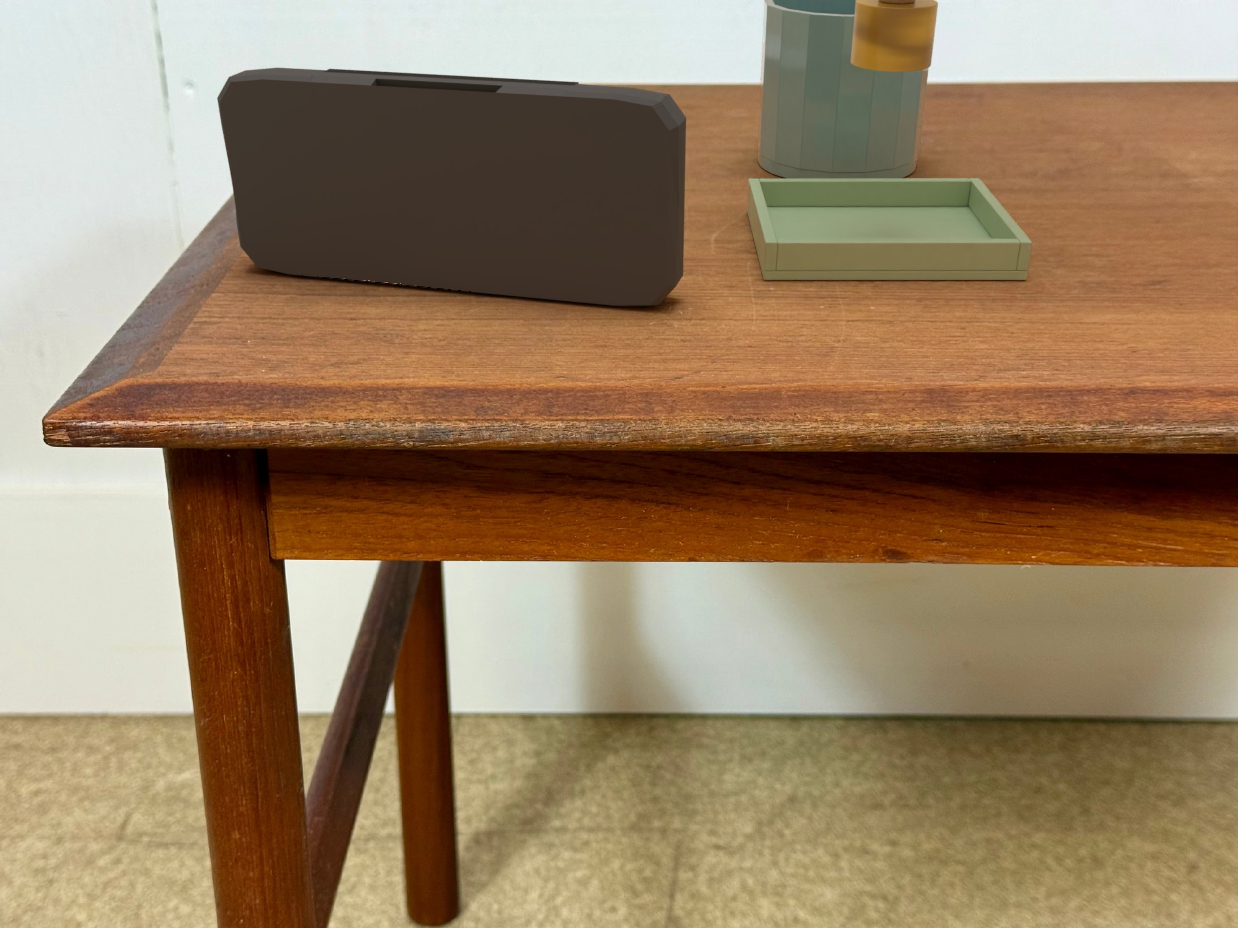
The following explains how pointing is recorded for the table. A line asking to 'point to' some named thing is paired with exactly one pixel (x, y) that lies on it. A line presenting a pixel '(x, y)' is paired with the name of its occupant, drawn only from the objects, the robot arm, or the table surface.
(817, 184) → the tray
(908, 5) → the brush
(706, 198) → the table surface
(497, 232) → the chamfered brown slab
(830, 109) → the crock
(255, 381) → the table surface
